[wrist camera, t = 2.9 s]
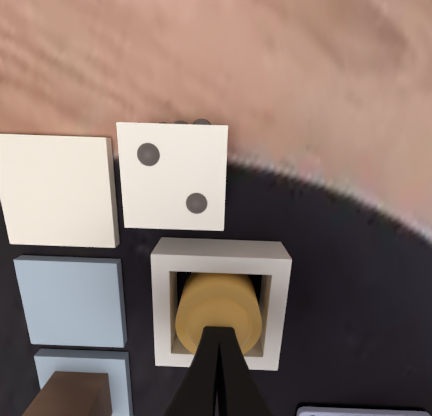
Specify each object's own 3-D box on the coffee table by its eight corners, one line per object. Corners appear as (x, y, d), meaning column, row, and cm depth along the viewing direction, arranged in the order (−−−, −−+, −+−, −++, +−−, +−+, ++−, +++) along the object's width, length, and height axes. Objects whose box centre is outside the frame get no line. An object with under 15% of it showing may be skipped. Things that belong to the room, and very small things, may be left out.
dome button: (257, 264, 14) (271, 306, 10) (252, 326, 15) (262, 384, 11) (182, 261, 14) (169, 302, 10) (182, 324, 15) (171, 381, 11)
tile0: (128, 351, 16) (124, 359, 15) (133, 416, 17) (130, 425, 17) (40, 348, 16) (33, 356, 15) (53, 412, 17) (48, 422, 17)
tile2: (111, 138, 12) (105, 137, 12) (119, 243, 14) (115, 247, 13) (-3, 134, 12) (-14, 133, 12) (19, 239, 14) (10, 243, 13)
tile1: (120, 258, 14) (116, 263, 13) (127, 340, 16) (123, 347, 15) (22, 255, 14) (13, 259, 13) (38, 336, 16) (31, 343, 15)
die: (225, 125, 12) (228, 115, 8) (222, 205, 13) (223, 233, 9) (143, 123, 12) (102, 111, 8) (147, 203, 13) (113, 229, 9)
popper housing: (280, 241, 14) (292, 259, 11) (269, 339, 15) (277, 370, 13) (161, 237, 14) (150, 254, 11) (164, 335, 15) (155, 365, 13)
